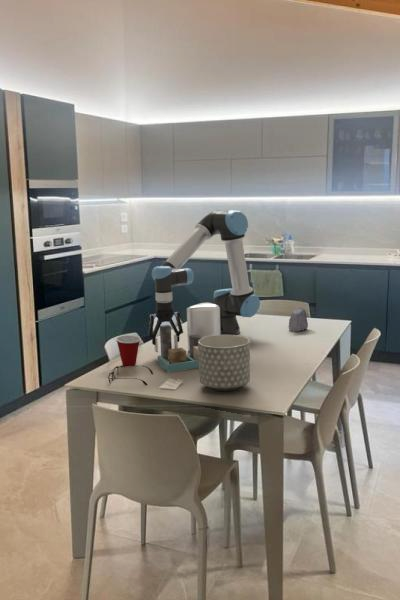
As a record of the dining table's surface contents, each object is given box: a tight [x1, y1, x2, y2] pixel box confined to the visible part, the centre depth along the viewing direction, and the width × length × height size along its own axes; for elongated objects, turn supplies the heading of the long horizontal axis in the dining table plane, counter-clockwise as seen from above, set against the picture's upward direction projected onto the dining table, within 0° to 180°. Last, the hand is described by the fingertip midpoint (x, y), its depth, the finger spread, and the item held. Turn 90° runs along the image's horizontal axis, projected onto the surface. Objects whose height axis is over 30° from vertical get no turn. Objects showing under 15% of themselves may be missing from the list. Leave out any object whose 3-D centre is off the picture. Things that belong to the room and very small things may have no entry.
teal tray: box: [157, 353, 199, 373], centre depth 246 cm, size 24×15×3 cm, turn 110°
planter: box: [198, 334, 251, 392], centre depth 213 cm, size 19×19×18 cm
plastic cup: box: [115, 335, 142, 367], centre depth 246 cm, size 11×11×12 cm
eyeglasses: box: [107, 365, 154, 386], centre depth 227 cm, size 16×16×4 cm
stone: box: [288, 308, 309, 332], centre depth 301 cm, size 12×10×10 cm
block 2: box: [189, 334, 201, 360], centre depth 250 cm, size 6×14×10 cm, turn 20°
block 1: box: [159, 324, 187, 364], centre depth 249 cm, size 6×22×14 cm, turn 20°
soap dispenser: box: [186, 302, 221, 351], centre depth 267 cm, size 15×14×22 cm
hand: (166, 350), depth 258 cm, fingers open, 9 cm apart
